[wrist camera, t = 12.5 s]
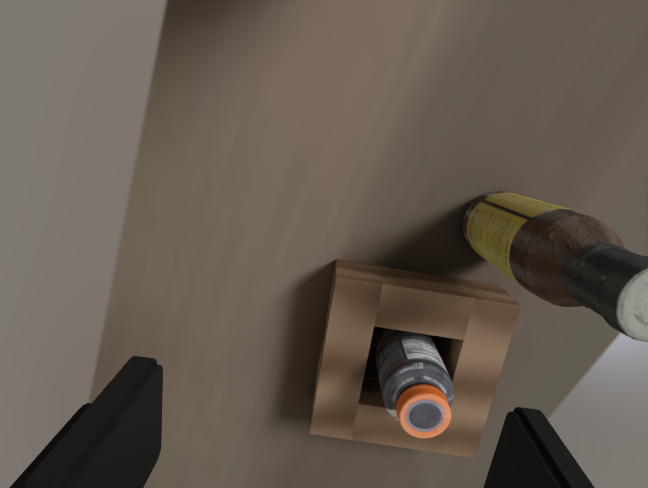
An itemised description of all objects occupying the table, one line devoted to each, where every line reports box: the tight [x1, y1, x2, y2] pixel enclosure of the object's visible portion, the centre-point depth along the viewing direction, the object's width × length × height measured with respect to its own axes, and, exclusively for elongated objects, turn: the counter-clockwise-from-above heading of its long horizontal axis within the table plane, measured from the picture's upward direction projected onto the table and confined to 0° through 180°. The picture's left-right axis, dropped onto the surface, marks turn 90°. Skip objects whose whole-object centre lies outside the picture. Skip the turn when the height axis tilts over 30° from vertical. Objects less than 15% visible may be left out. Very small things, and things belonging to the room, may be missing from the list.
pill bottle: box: [374, 328, 454, 438], centre depth 37 cm, size 6×6×11 cm
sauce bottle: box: [462, 191, 648, 342], centre depth 29 cm, size 6×6×20 cm
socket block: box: [309, 259, 521, 458], centre depth 40 cm, size 16×16×5 cm
